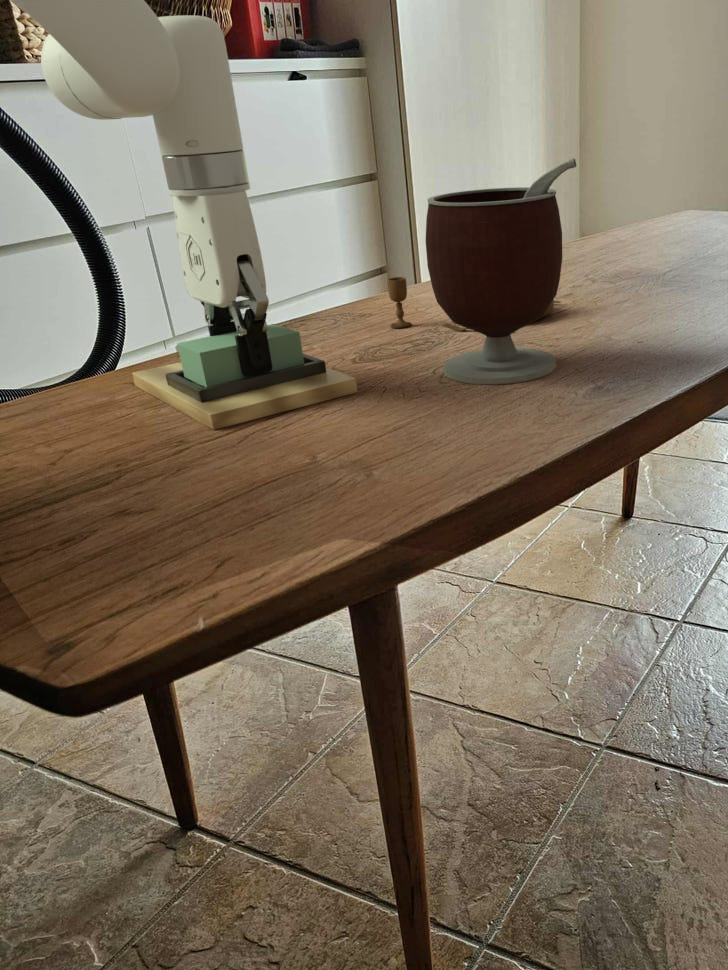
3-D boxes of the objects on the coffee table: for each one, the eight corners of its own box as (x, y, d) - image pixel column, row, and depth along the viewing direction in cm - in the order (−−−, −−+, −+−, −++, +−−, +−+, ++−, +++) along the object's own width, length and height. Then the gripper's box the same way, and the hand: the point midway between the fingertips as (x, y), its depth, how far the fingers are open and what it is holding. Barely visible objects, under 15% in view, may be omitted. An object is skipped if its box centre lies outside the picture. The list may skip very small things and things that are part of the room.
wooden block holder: (213, 430, 86) (207, 402, 84) (135, 386, 101) (128, 361, 99) (357, 392, 93) (354, 366, 92) (264, 356, 109) (260, 334, 107)
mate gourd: (418, 384, 95) (397, 171, 84) (460, 350, 106) (447, 158, 95) (561, 389, 90) (558, 165, 80) (590, 353, 101) (591, 152, 91)
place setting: (529, 334, 110) (527, 283, 107) (385, 329, 117) (379, 281, 114) (571, 303, 124) (570, 257, 121) (439, 300, 131) (435, 257, 128)
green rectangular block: (207, 388, 90) (199, 352, 88) (184, 377, 94) (176, 343, 92) (304, 365, 95) (299, 331, 93) (279, 356, 99) (273, 323, 97)
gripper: (137, 176, 89) (179, 360, 98) (205, 182, 77) (246, 391, 86) (208, 169, 93) (242, 347, 102) (284, 173, 81) (314, 375, 90)
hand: (243, 365), depth 94 cm, fingers closed on green rectangular block, 5 cm apart
